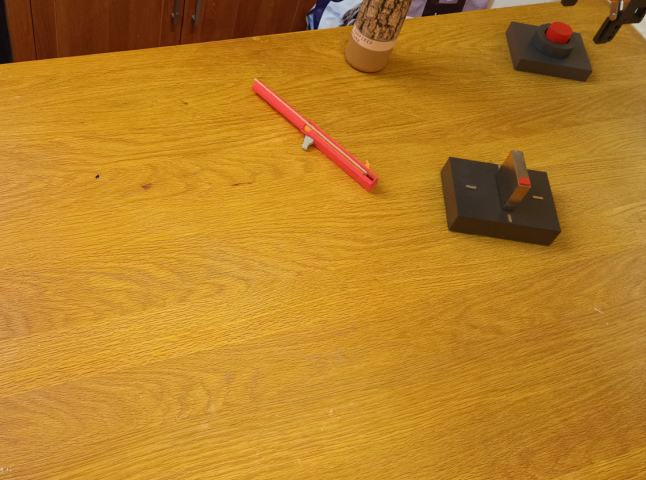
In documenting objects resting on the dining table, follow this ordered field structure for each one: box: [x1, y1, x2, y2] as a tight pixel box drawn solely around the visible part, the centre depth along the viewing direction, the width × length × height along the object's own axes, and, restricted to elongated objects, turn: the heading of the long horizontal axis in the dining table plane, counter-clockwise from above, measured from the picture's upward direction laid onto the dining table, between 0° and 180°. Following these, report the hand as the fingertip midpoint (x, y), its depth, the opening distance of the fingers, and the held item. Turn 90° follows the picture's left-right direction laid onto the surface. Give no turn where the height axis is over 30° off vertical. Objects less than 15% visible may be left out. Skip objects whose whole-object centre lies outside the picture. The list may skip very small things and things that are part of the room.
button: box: [546, 21, 574, 44], centre depth 119 cm, size 4×4×2 cm
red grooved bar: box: [251, 78, 379, 192], centre depth 104 cm, size 24×2×5 cm
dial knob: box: [496, 149, 531, 211], centre depth 97 cm, size 6×2×5 cm, turn 175°
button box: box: [505, 20, 594, 83], centre depth 121 cm, size 12×10×4 cm
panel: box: [440, 156, 562, 247], centre depth 100 cm, size 14×11×3 cm
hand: (582, 23), depth 103 cm, fingers open, 8 cm apart
